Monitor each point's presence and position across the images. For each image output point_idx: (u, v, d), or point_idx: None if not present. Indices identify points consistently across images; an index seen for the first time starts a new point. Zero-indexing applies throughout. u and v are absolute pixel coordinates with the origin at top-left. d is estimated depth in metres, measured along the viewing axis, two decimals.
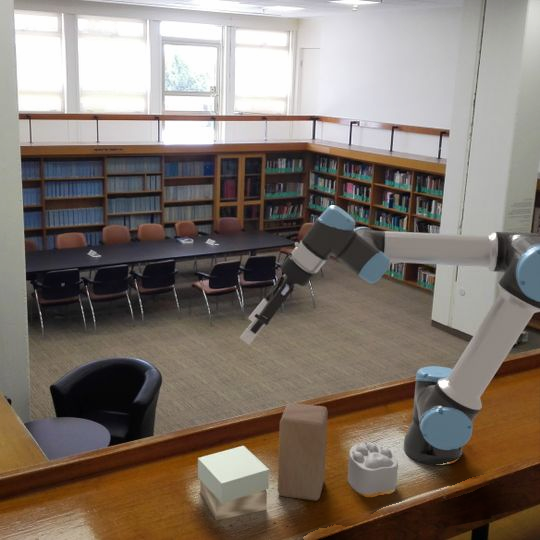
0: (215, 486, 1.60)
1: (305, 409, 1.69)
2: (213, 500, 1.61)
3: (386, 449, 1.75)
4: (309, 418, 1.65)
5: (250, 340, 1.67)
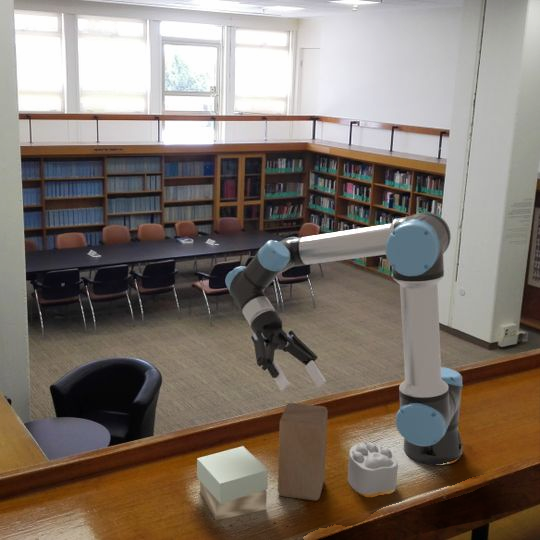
0: (214, 486, 1.60)
1: (305, 409, 1.69)
2: (213, 500, 1.61)
3: (386, 449, 1.75)
4: (309, 418, 1.65)
5: (284, 381, 1.68)
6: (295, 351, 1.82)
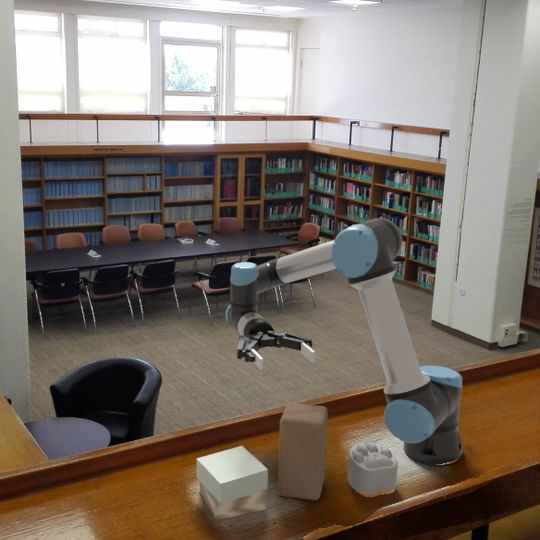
0: (214, 486, 1.60)
1: (305, 409, 1.69)
2: (213, 500, 1.61)
3: (386, 449, 1.75)
4: (309, 418, 1.65)
5: (258, 359, 1.72)
6: (287, 342, 1.85)
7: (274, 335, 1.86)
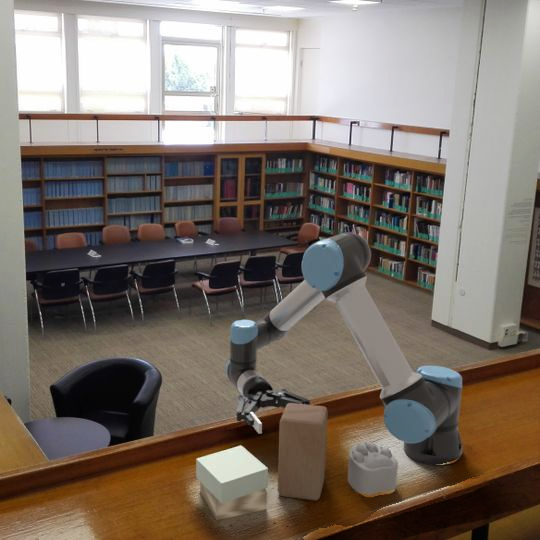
0: (215, 486, 1.60)
1: (305, 409, 1.69)
2: (213, 500, 1.61)
3: (386, 449, 1.75)
4: (309, 418, 1.65)
5: (257, 423, 1.77)
6: (285, 402, 1.89)
7: (273, 395, 1.91)
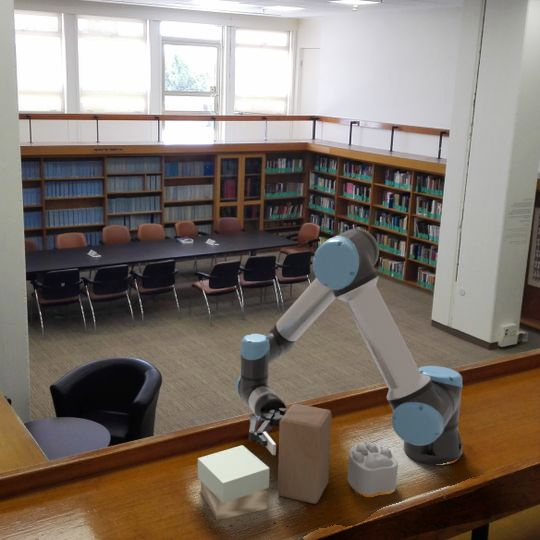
0: (216, 486, 1.60)
1: (308, 411, 1.68)
2: (214, 500, 1.61)
3: (386, 449, 1.75)
4: (309, 420, 1.64)
5: (271, 444, 1.68)
6: None
7: None
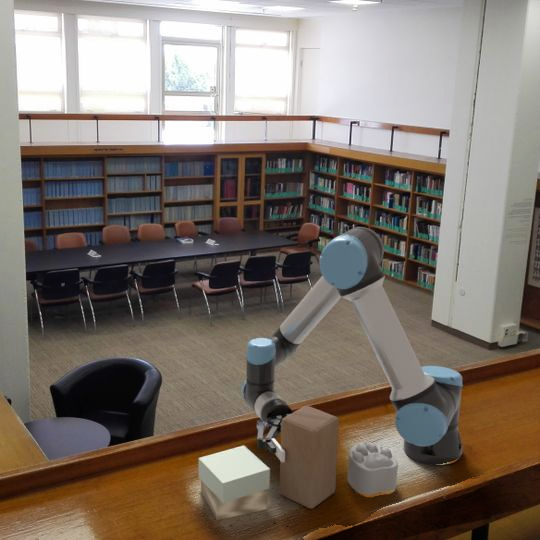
0: (216, 486, 1.60)
1: (314, 415, 1.67)
2: (214, 500, 1.61)
3: (386, 449, 1.75)
4: (308, 423, 1.62)
5: (280, 451, 1.65)
6: None
7: None
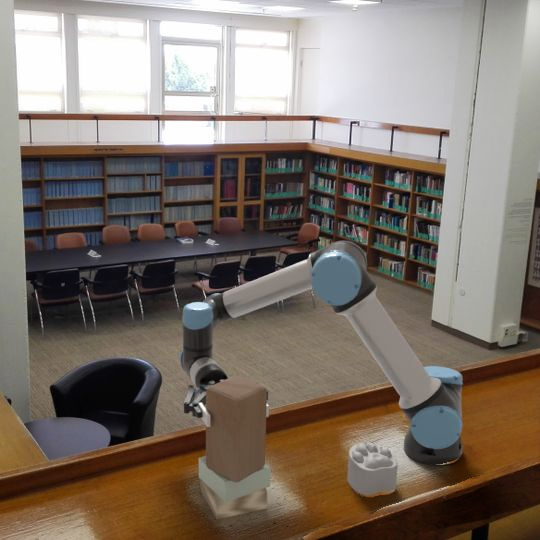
0: (218, 485, 1.60)
1: (241, 384, 1.59)
2: (213, 499, 1.61)
3: (386, 449, 1.75)
4: (233, 392, 1.55)
5: (205, 415, 1.57)
6: None
7: None
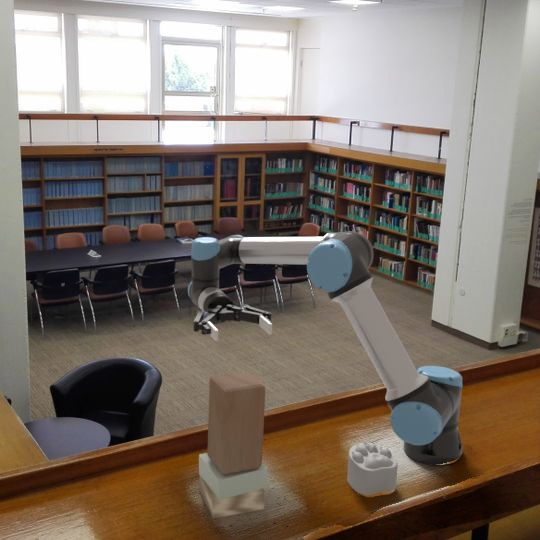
0: (214, 483, 1.61)
1: (243, 379, 1.61)
2: (210, 498, 1.62)
3: (386, 449, 1.75)
4: (229, 384, 1.58)
5: (213, 330, 1.70)
6: (246, 316, 1.83)
7: (233, 309, 1.84)
